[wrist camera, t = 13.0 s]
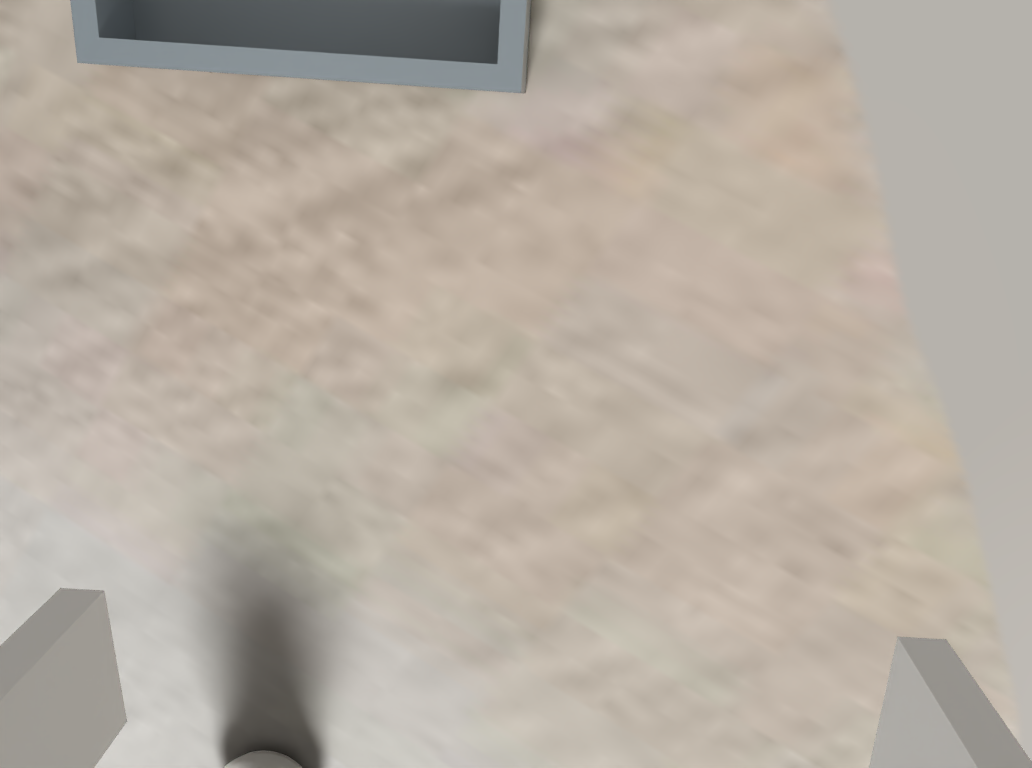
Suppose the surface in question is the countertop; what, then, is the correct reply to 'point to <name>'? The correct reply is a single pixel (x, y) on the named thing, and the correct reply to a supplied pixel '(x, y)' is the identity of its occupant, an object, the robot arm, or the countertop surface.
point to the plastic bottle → (263, 760)
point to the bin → (316, 39)
